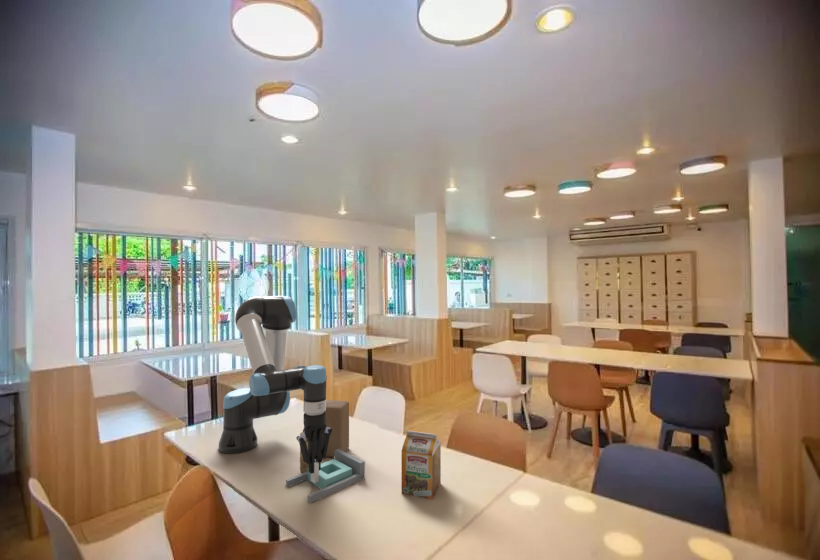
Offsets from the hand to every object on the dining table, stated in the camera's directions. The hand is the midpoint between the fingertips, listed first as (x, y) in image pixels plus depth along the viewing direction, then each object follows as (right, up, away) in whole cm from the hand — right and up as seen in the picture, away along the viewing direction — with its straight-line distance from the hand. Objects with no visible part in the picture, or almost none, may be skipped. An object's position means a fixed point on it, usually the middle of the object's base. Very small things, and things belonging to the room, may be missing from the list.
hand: (314, 481), depth 135 cm
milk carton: (+37, -2, -1) cm, 37 cm away
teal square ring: (+4, -2, +4) cm, 6 cm away
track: (+3, -2, +3) cm, 5 cm away
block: (+1, -2, +27) cm, 27 cm away
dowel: (-6, -2, +11) cm, 13 cm away
